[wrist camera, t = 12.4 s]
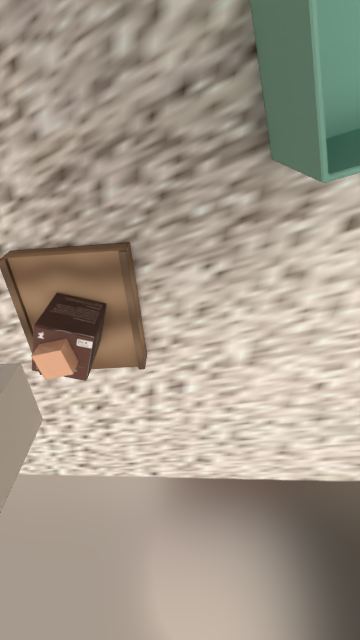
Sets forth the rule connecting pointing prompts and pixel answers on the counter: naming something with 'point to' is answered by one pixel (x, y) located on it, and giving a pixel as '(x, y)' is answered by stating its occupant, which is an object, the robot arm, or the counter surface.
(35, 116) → the counter surface
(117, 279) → the dock
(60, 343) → the tan rounded cube
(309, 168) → the box
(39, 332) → the box
